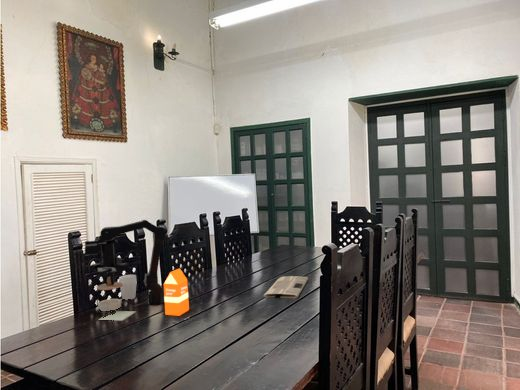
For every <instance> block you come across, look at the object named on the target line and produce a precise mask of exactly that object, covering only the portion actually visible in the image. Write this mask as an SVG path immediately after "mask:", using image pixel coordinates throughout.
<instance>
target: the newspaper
mask: <svg viewBox="0 0 520 390" xmlns="http://www.w3.org/2000/svg"><path fill="white" fill-rule="evenodd" d="M308 281H309V277H307V276H297V275H296V276H295V275H294V276H293V275H289V276H288V275H287V276H281V277H278V279H277V280H275V282H274V283H273V284H272V285H271V287H270V288H268V289H267V291H265V293H264V294H263V298H264V299H265V298H275V297H276V296H277V295H281V296H280V297H279V298H281V299H297V298H299V296H300V294H301V292H302V290H303V289H304V288H305V285H306V283H307V282H308Z"/></svg>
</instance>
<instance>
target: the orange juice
mask: <svg viewBox="0 0 520 390" xmlns="http://www.w3.org/2000/svg"><path fill="white" fill-rule="evenodd" d="M188 284H189V283H188V278H187V277H186V276H185V274H184V272H183V271H182V270H181V268H177V269H175V270H173V271H170V272H169V274H168V276H167V277H166V280H165V281H164V283H163V300H164V312H165V316H167V315H168V316H179V317H180V316H181V315H183V314H185V313H186V312H188V311H189V310H190V304H189V303H190V302H189V287H188Z"/></svg>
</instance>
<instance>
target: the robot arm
mask: <svg viewBox="0 0 520 390" xmlns="http://www.w3.org/2000/svg"><path fill="white" fill-rule="evenodd" d="M142 229H146V230H147V231H149V232H151V233H152V242H153V244H152V251H151V255H150V256H151V257H150V264H149V270H148V273H144V280H143V283H144V285H145V287H146V288H147V290H149V292H148V294H147V299H148V303H147V305H149V306H161V305H162V304H163V303H165V301H164V287H162V286H161V284H159V278H158V277H159V275H158V267H159V263H160V262H159V261H160V255H161V250H162V244H163V242H164V240H165V238H166V234H167V231H166V229H165V228H164V227H162V226H159V225H158V226H156V225H155V224H153V223H151V222H149V220H148V219H147V220H146V219H142V220H139V221H136V222H131V223H128V224H123V225H119V226H118V225H117V226H106V227H103V228H102V229H101V230H100V235H99V236H98V238H97V240H85V241H84V255H85V257H86V256H94V255H98V253H101V256H99V257H100V259H101V260H102V261H101V263H100V262H99V263H93V264H91V265H89V266H88V271H89V272H95V271H96V270H97V272H96V273H97V274H98V275H99V276H100V277H101V278H102V280H103V282H104V284H105V283H106V285H107V277H110V278H111V283H112V285H114V282H116V278H117V275H118V273H119V272H124V271H126V270H129V269H130V264H129V263H128V262H122V260H123V258H122V257H118V256H117V253H115V246H114V244H118V240H116V239H115V238H116V237H118V236H120V235H123V234H126V233H130V232H134V231H138V230H142ZM109 270H110V271H109Z"/></svg>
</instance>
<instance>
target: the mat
mask: <svg viewBox="0 0 520 390" xmlns="http://www.w3.org/2000/svg"><path fill="white" fill-rule="evenodd" d="M115 311H116V313H115V314H113V315H112V314H111V315H108V316H106V317H104V316H102V317H100V318H99V319H98V320H112V321H111V322H123V321H125V320H126V319H128V318H129V317H131V316H132V315H133V314H135V313H136V311H135V310H134V311H133V310H132V311H131V310H130V311H128V310H126V311H125V310H115ZM103 317H104V318H103ZM113 320H114V321H113Z"/></svg>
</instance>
